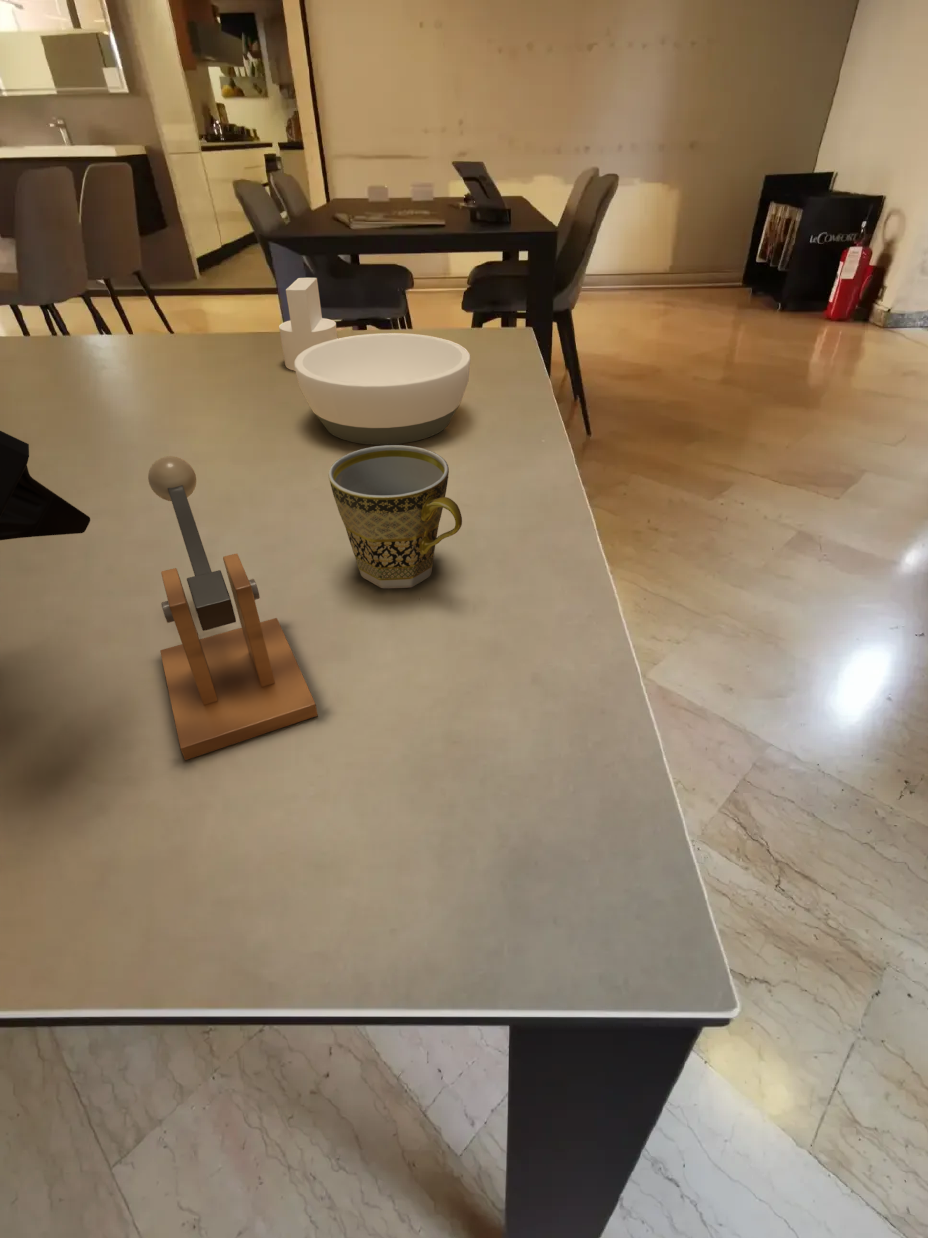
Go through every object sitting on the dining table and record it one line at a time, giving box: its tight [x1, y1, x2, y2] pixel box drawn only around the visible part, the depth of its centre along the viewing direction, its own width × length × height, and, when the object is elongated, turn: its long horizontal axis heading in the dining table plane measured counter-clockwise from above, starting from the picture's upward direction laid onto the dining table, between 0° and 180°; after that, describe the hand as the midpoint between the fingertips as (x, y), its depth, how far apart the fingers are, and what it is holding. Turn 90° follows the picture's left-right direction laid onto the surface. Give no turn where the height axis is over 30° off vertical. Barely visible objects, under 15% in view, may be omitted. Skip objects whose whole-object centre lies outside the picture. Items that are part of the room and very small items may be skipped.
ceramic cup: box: [328, 444, 463, 589], centre depth 58 cm, size 13×10×10 cm
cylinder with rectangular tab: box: [278, 277, 339, 372], centre depth 107 cm, size 9×9×12 cm
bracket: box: [159, 553, 319, 761], centre depth 46 cm, size 11×9×10 cm
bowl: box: [294, 332, 471, 446], centre depth 88 cm, size 22×22×8 cm
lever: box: [147, 455, 237, 632], centre depth 48 cm, size 16×3×3 cm, turn 26°
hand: (51, 505), depth 44 cm, fingers open, 8 cm apart
